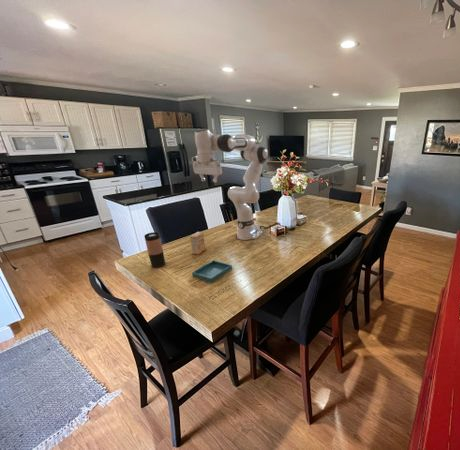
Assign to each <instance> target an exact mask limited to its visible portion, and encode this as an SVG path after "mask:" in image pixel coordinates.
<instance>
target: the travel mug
mask: <svg viewBox="0 0 460 450" xmlns="http://www.w3.org/2000/svg"><path fill="white" fill-rule="evenodd" d="M160 235H161V234H160V232H157V231H152V232H148V233H146V234H144V240H145V245H146V250H147V253H148V258H149V262H150V265H151V267H152V268H153V269H156V268H157V269H158V268H162V267H164V266H165V265H166V260H165V254H164V248H163V244H162V239H161V236H160Z"/></svg>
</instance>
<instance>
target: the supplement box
mask: <svg viewBox="0 0 460 450" xmlns="http://www.w3.org/2000/svg"><path fill="white" fill-rule="evenodd" d="M189 239H190V244H191V252H192V254H193V255H198V256H199V255H201V253H203V252H204V251H206V242H205V236H204V232H202V231H196V232H195V233H193V234H191V235H189Z"/></svg>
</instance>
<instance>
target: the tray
mask: <svg viewBox="0 0 460 450" xmlns="http://www.w3.org/2000/svg"><path fill="white" fill-rule="evenodd" d="M232 269H233V265H232V264H228V263H226V262H222V261H218V260H215V259H213V260H211V261H210V262H207V263H206V264H204V265H203V266H200V267H199V268H197V269H196V270H194V271H192V272H191V275H192V277H193V278H196V279H199V280H202V281H205V282H208V283H213V282H215V281H217V280H218V279H219V278H221V277H223V276H224V275H225V274H227V273H229V272H230V271H231V270H232Z"/></svg>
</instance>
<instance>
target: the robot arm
mask: <svg viewBox="0 0 460 450" xmlns="http://www.w3.org/2000/svg"><path fill="white" fill-rule="evenodd" d="M194 143H195V148H196V155H195V156H192V157H191V161H192V169H193V172H194V174H197V175H199V177H200V179H201V182H206V181H207V180H206V178H205V176H204V175H208V176H213V179H212V183H215V184H216V183H218V177H219V176H221V175H223V167H222V165H221V161H220V160H219V159H218V158H215V155H214V152H216V153H218V152H219V153H231V152H232V151H234V150H235V151H238V152H239V155H240V157H241V159H242V160H244V161H249V165H248V167H247V168H246V170H245V173H244V174H243V177H242V181H243V183H244V184H245V185H244V186H231V187H229V188H228V190H227V197H228V199H229V200H230V201H231V202H232V203H233V206H234V208H235V210H236V215H237V221H236V223H237V226H236V227H237V228H236V230H237V231H236V238H237V239H238V240H241V241H243V240H244V241H247V240H256V239H258V238H259V237H260V236H261V235H262V234H263V233H264V230H263V229H269V228H272V227H273V226H275V225H277V224H278V223H277V222H278V221H276V222H274V223H273V224H271V225H269V226H264V225H261V224H258V223H256V221H257V218H256V217H253V209H252V207H250V206H249V204H255V203H256V204H257V202H258V201H259V200H260V192H259V191H258V187H257V185H258V182H259V180H260V177H261V175H262V172H263V167H264V165H263V164H265V162H266V161H267V159H268V157H269V150H268V149H267V147H265V146H262V145H261V146H259V145H256V139H255V137H254V136H252V135H249V134H245V133H239V134H235V135H233V136H232V135H231V134H227V133H225V134H215V133H212V132H211V131H210V130H209V129H208V128H199V129H196V130H195V131H194ZM301 214H302V212H299V213H298V215H301ZM262 228H263V229H262Z"/></svg>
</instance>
